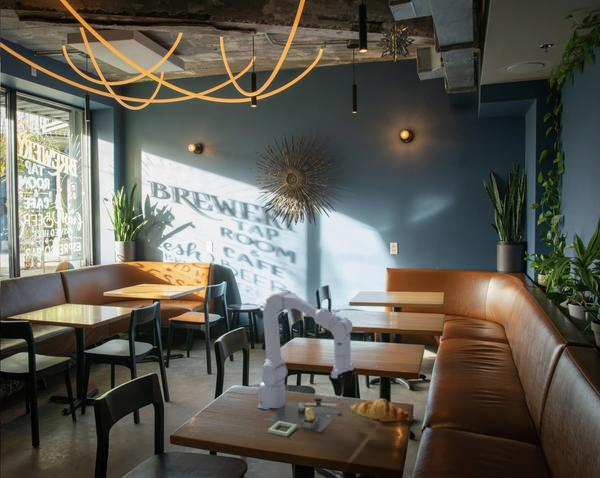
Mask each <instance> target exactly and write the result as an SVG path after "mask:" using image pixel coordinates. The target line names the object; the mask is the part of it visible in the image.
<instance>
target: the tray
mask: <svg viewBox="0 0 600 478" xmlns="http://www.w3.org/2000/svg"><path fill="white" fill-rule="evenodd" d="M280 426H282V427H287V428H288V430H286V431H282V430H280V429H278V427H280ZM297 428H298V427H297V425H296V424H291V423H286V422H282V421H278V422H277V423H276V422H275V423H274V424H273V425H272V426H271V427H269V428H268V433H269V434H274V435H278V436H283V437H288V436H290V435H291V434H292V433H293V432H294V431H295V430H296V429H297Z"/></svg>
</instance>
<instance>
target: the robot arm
mask: <svg viewBox="0 0 600 478" xmlns="http://www.w3.org/2000/svg"><path fill="white" fill-rule="evenodd" d="M265 301H266V303H265V306H264V308H263V311H262V317H263V329H264V331H263V332H264V344H265V354H266V355H265V356H266V360H265V361H264V363H263V365H262V373H261V380H262V382H260V384H259V385H258V386H259V388H258V406H257V408H259V409H263V410H269V409H271V408H272V409H278V408H280V407H282V406H284V405H285V403H286V397H285V396H286V395H285V393H286V392H285V391H286V390H285V387H286V386H285V381H286V380H285V379H286V377H287V375H288V368H287V366H286V363H285V362H286V361H285V359H284V358H283V357H282V354H281V353H282V351H281V341H280V327H279V326H280V325H279V315H281V314H282V312H284V310H293V309H295V310H297V311H299V312H301V313H303V314H306V315H307V316H309V317H311V318H313V320H314V323H315V324H317V325H319V326H321V327H323V328H324V329H326V330H328V331H330V332H331V335H332V337H333V363H334V364H333V366H332V367H333V368H332V371H331V372H330V374H329V375H328V379H329V381H330V383H331V385H332V388H333V391H334V395H335V396H336V397H342V395H343V388H344V389H348V390H349V389H351V386H352V382H353V378H354V376H355V375H354V374H355V373H356V371H357V369H356V367H354V360H352V358H351V348H352V347H351V332H352V331H353V329H354V328H353V327H354V326H353V323H352V321H351V320H350V319H348V318H347V317H341V316H340V315H336V314H335V313H332V312H331V311H330V309H328V308H320V309H319V308H317V307H315V306H314V305H312V304H310V303H309V302H307V300H305V299H303V298H301V297H299V296H298V295H297V294H296V293H295V292H292V291H290V290H288V289H285V290H283V291H280V292H277V293H273V294H271V295H269V297H268V298H267V299H266V300H265Z"/></svg>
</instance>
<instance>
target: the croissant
mask: <svg viewBox="0 0 600 478" xmlns="http://www.w3.org/2000/svg"><path fill="white" fill-rule="evenodd" d="M350 411H351V412H353V413H354V414H356V415H359V416H362V417H365V418H367V419H368V418H369V419H371V420H378V422H379V421H384V422H396V421H397V422H398V421H402V420H403V421H404V420H406V419H407V418H409V415H410V413H409V412H408V411H404V410H403V408H400V407H397V406H395V405H394V404H393V403H392V402H389V401H388V400H387V399H386V398H379V399H376V400H367V401H365V402H358V403H355V404H351V406H350Z"/></svg>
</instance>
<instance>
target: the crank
mask: <svg viewBox="0 0 600 478" xmlns="http://www.w3.org/2000/svg"><path fill="white" fill-rule="evenodd" d="M313 401H314V402H303V401H300V402H297V403H298V412H305V407H308V406H311V407H323V408H329V409H334V408H335V409H336V408H337V403H328V402H325V403H324V402H323V403H322V401H323V398H322V397H321V398H319V397H315V398H314V400H313Z"/></svg>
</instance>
